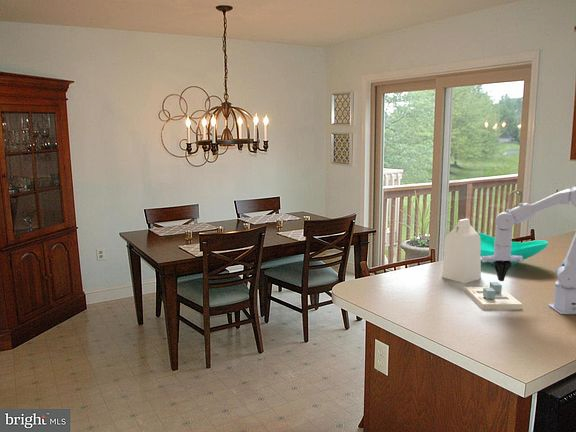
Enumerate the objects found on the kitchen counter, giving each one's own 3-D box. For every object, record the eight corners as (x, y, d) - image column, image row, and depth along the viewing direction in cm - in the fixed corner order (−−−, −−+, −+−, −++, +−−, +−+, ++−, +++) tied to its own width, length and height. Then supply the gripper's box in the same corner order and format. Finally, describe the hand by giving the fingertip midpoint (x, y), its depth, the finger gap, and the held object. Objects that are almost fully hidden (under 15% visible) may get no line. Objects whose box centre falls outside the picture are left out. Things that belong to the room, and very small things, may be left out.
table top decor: (449, 263, 240) (450, 236, 238) (471, 252, 260) (472, 228, 258) (536, 278, 213) (538, 248, 211) (553, 265, 234) (555, 238, 232)
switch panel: (522, 309, 176) (522, 303, 176) (482, 309, 176) (483, 303, 176) (500, 291, 196) (500, 286, 195) (464, 291, 196) (464, 286, 196)
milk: (464, 283, 208) (467, 223, 203) (441, 277, 217) (444, 219, 213) (480, 278, 215) (484, 219, 210) (458, 272, 224) (460, 216, 220)
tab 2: (501, 292, 187) (501, 285, 187) (493, 292, 187) (493, 285, 187) (497, 289, 191) (497, 282, 191) (489, 289, 191) (489, 282, 191)
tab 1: (495, 298, 180) (495, 291, 180) (486, 298, 180) (487, 291, 180) (490, 295, 184) (491, 287, 184) (482, 295, 184) (483, 287, 184)
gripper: (517, 242, 185) (515, 277, 187) (479, 242, 185) (477, 277, 187) (526, 246, 178) (524, 282, 180) (486, 247, 178) (484, 283, 180)
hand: (500, 280), depth 183 cm, fingers closed
